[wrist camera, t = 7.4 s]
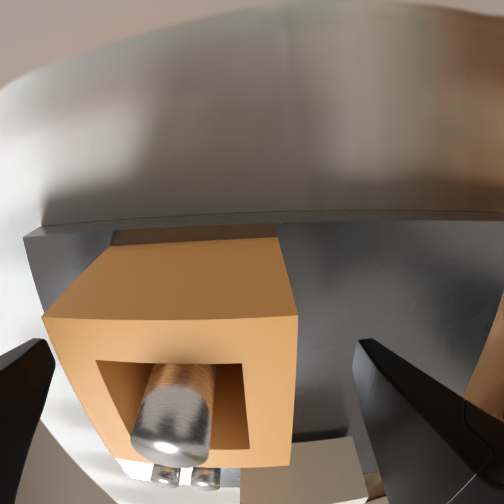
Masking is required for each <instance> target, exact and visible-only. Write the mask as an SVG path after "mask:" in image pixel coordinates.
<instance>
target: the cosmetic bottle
mask: <svg viewBox="0 0 504 504" xmlns="http://www.w3.org/2000/svg"><path fill="white" fill-rule="evenodd" d="M364 504H389V503H388V499H387V496H383V497H380V498H377V499H374V500H371V501H368V502H366V503H364Z"/></svg>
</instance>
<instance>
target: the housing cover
mask: <svg viewBox="0 0 504 504" xmlns="http://www.w3.org/2000/svg"><path fill="white" fill-rule="evenodd" d="M368 497H369V495H368V491H367V488H366V484H365V480H364V477H363V473H362V469H361V466H360V462H359V459H358V455H357V452H356V448H355V445H354V441H353V438H352V436H349V437H343V438H336V439H328V440H320V441H311V442H301V443H291V454H290V465H288V466H274V467H254V468H241V471H240V504H364V503H365V502H366V500H367V499H368Z"/></svg>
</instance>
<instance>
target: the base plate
mask: <svg viewBox="0 0 504 504" xmlns="http://www.w3.org/2000/svg"><path fill="white" fill-rule="evenodd" d="M271 237H278V241H279V244H280V248H281V252H282V256H283V259H284V263H285V267H286V271H287V274H288V278H289V282H290V286H291V289H292V293H293V297H294V301H295V305H296V309H297V313H298V336H297V360H296V380H295V397H294V413H293V428H292V441H291V443H301V442H311V441H320V440H328V439H336V438H343V437H349V436H352V438H353V441H354V445H355V448H356V452H357V455H358V459H359V462H360V466H361V469H362V473H363V475H364V474H368V473H373V472H378V471H379V469H378V466H377V462H376V459H375V456H374V453H373V449H372V446H371V443H370V440H369V437H368V434H367V431H366V428H365V424H364V421H363V418H362V413H361V409H360V404H359V399H358V394H357V389H356V384H355V379H354V374H353V368H352V364H353V358H354V353H355V348H356V343H357V341H358V340H360V339H368V338H372V339H375V340H376V341H378V342H379V343H381V344H382V345H384V346H385V347H387V348H388V349H390V350H391V351H393V352H394V353H396V354H397V355H399V356H400V357H402V358H403V359H405V360H406V361H408V362H409V363H411V364H412V365H414V366H415V367H417V368H418V369H420V370H422V371H423V372H425V373H426V374H428V375H429V376H431V377H432V378H434V379H435V380H437V381H438V382H440V383H441V384H443V385H444V386H446V387H447V388H449V389H450V390H452V391H454V392H455V393H457V394H458V395H460V396H462V394H463V392H464V390H465V388H466V386H467V384H468V382H469V380H470V378H471V375H472V373H473V371H474V369H475V367H476V364H477V362H478V360H479V357H480V355H481V353H482V350H483V348H484V345H485V343H486V340H487V338H488V335H489V332H490V330H491V327H492V324H493V321H494V318H495V316H496V313H497V310H498V307H499V303H500V300H501V297H502V294H503V290H504V214H502V213H489V212H460V211H409V210H340V211H285V212H253V213H227V214H205V215H186V216H168V217H152V218H137V219H123V220H110V221H97V222H85V223H74V224H63V225H52V226H42V227H39V228H37V229H36V230H34V231H32V232H31V233H29V234H27V235H26V236H24V237H23V241H24V245H25V249H26V253H27V257H28V261H29V265H30V268H31V272H32V275H33V279H34V282H35V285H36V289H37V292H38V295H39V298H40V301H41V304H42V307H43V310H44V313H45V312H46V311H47V310H48V309H49V308H50V307H51V306H52V304H53V303H54V302H55V301H56V300H57V299H58V298H59V297H60V296H61V295H62V294H63V293H64V292H65V291H66V290H67V288H68V287H69V286H70V285H71V284H72V283H73V282H74V281H75V280H76V279H77V278H78V277H79V276H80V275H81V274H82V273H83V272H84V271H85V270H86V269H87V268H88V267H89V266H90V265H91V264H92V263H93V262H94V261H95V260H96V259H97V258H98V257H99V256H100V255H101V254H102V253H103V252H104V251H105V250H106V249H107V248H108V247H109V246H123V245H139V244H156V243H174V242H192V241H210V240H230V239H250V238H271ZM217 366H218V364H163V363H154V366H153V369H152V372H151V375H150V378H149V381H148V384H147V387H146V390H145V393H144V396H143V399H142V402H141V405H140V408H139V411H138V415H137V418H136V421H135V424H134V427H133V431H132V434H131V437H130V442H131V445H132V446H133V448H134V449H135V450H136V451H137V452H138V453H139V454H140V455H141V456H143V457H144V458H146V459H148V460H150V461H152V462H154V463H157V464H152V463H143V462H136V461H129V460H122V459H116V460H117V461H118V463H119V464H120V466H121V467H122V469H123V470H124V472H125V473H126V475H127V476H128V478H131V479H138V480H144V481H151V482H153V483H154V484H156V485H158V486H161V487H165V488H176V487H178V486H179V485H191V486H192V487H194V488H196V489H199V490H203V491H214V490H217V489H219V488H220V487H240V471H241V468H206V467H196V466H199V465H201V464H203V463H204V462H206V460H207V459H208V456H209V446H210V436H211V425H212V415H213V405H214V395H215V385H216V376H217Z"/></svg>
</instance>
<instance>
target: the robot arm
mask: <svg viewBox="0 0 504 504" xmlns="http://www.w3.org/2000/svg"><path fill="white" fill-rule="evenodd" d="M352 368H353V374H354V379H355V384H356V389H357V394H358V399H359V404H360V409H361V413H362V418H363V421H364V424H365V428H366V431H367V434H368V437H369V440H370V443H371V446H372V449H373V453H374V456H375V459H376V462H377V466H378V469H379V472H380V475H381V479H382V482H383V485H384V489H385V492H386V496H387V499H388V503H389V504H504V422H502V421H500V420H499V419H497V418H495V417H493V416H491V415H490V414H488V413H486V412H485V411H483V410H482V409H480V408H478V407H477V406H475V405H474V404H472V403H471V402H469V401H467V400H465V399H464V398H463V397H461V396H460V395H458V394H457V393H455V392H454V391H452V390H450V389H449V388H447V387H446V386H444V385H443V384H441V383H440V382H438V381H437V380H435V379H434V378H432V377H431V376H429V375H428V374H426V373H425V372H423V371H422V370H420V369H418V368H417V367H415V366H414V365H412V364H411V363H409V362H408V361H406V360H405V359H403V358H402V357H400V356H399V355H397V354H396V353H394V352H393V351H391V350H390V349H388V348H387V347H385V346H384V345H382V344H381V343H379V342H378V341H376V340H375V339H372V338H368V339H360V340H358V341H357V343H356V348H355V353H354V358H353V364H352ZM54 370H55V359H54V357H53V355H52V352H51V350H50V348H49V345H48V343H47V341H46V340H44V339H39V338H33V339H31V340H29V341H27V342H25V343H24V344H22V345H20V346H18V347H16V348H14V349H12V350H10V351H8V352H7V353H5V354H3V355H1V356H0V504H14V503H15V499H16V495H17V491H18V487H19V483H20V480H21V476H22V472H23V469H24V465H25V462H26V459H27V455H28V452H29V449H30V446H31V443H32V440H33V436H34V434H35V431H36V428H37V425H38V422H39V419H40V417H41V414H42V411H43V408H44V405H45V402H46V398H47V394H48V391H49V387H50V383H51V380H52V377H53V373H54ZM503 418H504V416H503Z"/></svg>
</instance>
